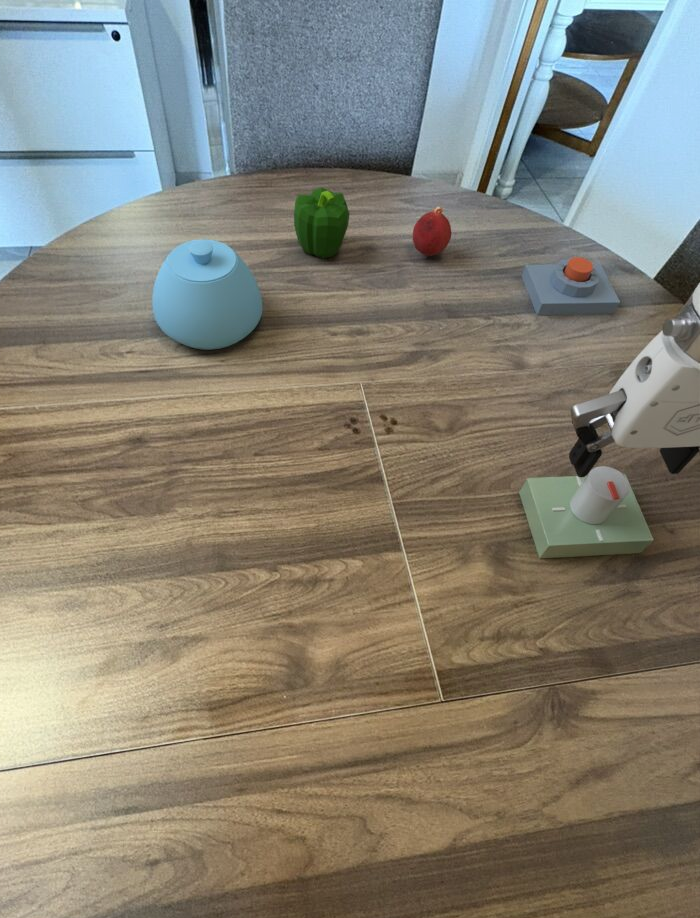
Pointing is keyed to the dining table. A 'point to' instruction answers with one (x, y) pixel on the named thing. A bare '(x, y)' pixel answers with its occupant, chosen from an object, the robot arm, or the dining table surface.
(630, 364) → the robot arm
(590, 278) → the button box
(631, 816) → the dining table surface
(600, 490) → the tap knob
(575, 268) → the stop button
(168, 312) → the sugar bowl
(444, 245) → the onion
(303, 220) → the bell pepper
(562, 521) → the tap panel
